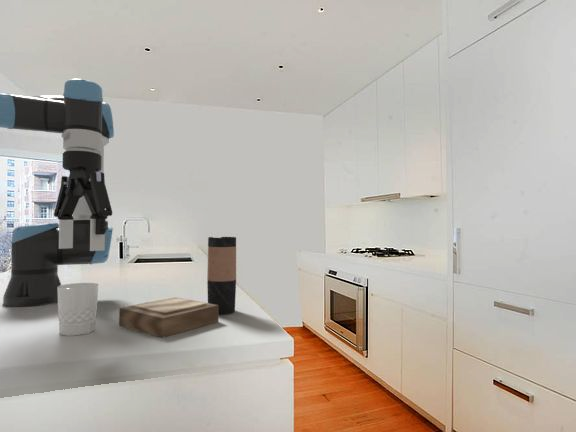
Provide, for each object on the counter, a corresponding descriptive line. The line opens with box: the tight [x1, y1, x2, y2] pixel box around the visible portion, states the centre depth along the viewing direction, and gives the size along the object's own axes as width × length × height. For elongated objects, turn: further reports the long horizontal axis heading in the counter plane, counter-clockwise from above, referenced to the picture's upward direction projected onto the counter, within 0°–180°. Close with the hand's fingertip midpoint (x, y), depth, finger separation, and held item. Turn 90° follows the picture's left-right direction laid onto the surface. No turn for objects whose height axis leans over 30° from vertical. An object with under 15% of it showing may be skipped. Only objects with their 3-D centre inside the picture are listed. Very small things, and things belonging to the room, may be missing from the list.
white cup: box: [57, 282, 99, 337], centre depth 84 cm, size 8×8×10 cm
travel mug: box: [206, 236, 237, 316], centre depth 104 cm, size 8×8×20 cm
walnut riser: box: [118, 297, 220, 338], centre depth 91 cm, size 16×16×4 cm
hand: (80, 249), depth 84 cm, fingers open, 13 cm apart
